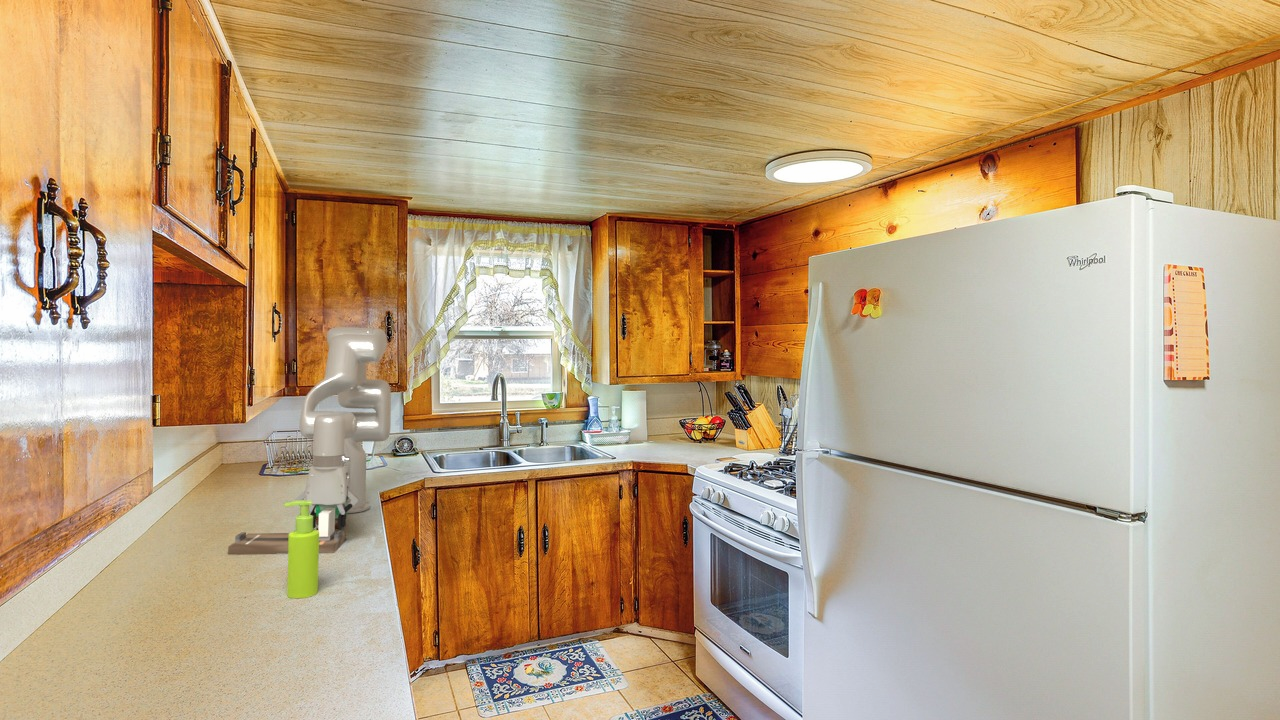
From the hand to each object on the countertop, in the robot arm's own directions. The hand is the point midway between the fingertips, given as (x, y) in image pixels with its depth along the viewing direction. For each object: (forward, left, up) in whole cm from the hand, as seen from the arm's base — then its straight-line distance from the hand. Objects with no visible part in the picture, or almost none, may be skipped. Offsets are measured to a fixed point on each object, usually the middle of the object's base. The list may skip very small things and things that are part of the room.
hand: (326, 528), depth 176 cm
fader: (0, 0, -3) cm, 3 cm away
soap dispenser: (+35, +5, -5) cm, 36 cm away
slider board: (0, -9, -5) cm, 10 cm away
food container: (-19, -2, -5) cm, 20 cm away
